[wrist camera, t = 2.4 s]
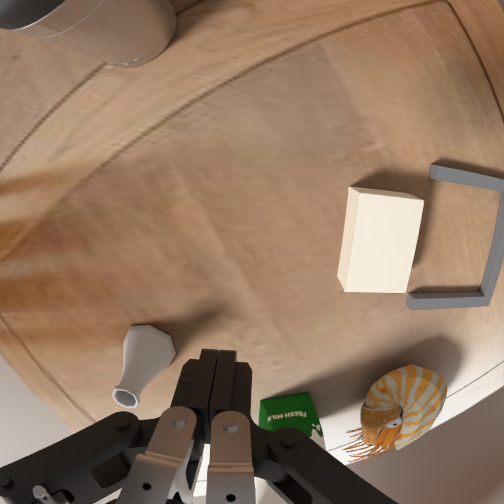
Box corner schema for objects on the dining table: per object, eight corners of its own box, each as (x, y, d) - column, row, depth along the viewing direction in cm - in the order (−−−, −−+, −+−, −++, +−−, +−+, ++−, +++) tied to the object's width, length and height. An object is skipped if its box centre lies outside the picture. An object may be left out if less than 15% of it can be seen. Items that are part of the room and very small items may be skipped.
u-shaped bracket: (430, 164, 30) (437, 165, 28) (510, 180, 29) (517, 183, 28) (405, 303, 36) (410, 309, 34) (483, 300, 35) (488, 305, 34)
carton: (348, 186, 31) (359, 193, 28) (407, 192, 31) (424, 200, 28) (336, 275, 35) (344, 291, 31) (392, 277, 35) (405, 292, 31)
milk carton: (266, 432, 44) (266, 544, 26) (252, 396, 41) (246, 524, 23) (321, 422, 43) (338, 534, 25) (314, 384, 40) (334, 514, 22)
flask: (178, 330, 38) (157, 385, 28) (175, 372, 40) (157, 426, 31) (124, 317, 37) (91, 366, 28) (125, 359, 40) (99, 409, 31)
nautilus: (366, 446, 47) (302, 423, 45) (457, 373, 39) (400, 336, 37) (371, 481, 40) (302, 463, 38) (475, 408, 32) (417, 377, 30)
